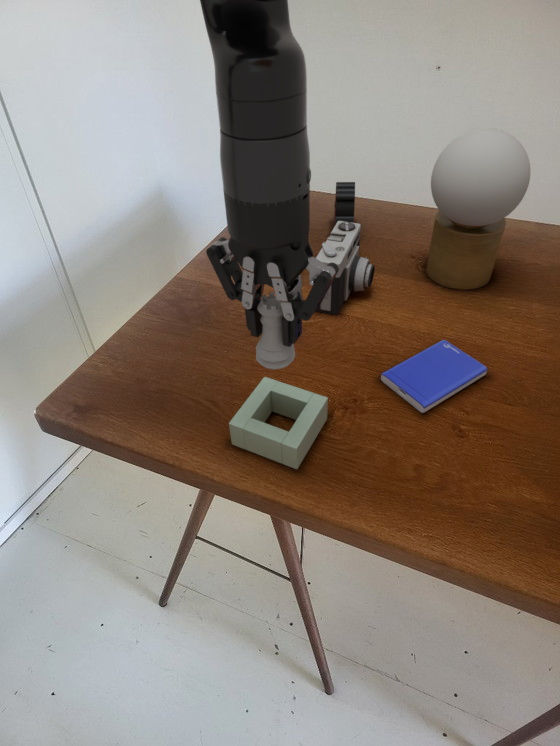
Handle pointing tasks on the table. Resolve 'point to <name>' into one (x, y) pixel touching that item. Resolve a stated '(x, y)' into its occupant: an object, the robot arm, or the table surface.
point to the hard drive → (433, 375)
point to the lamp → (474, 204)
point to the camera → (344, 265)
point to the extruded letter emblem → (344, 202)
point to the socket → (273, 440)
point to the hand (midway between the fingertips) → (274, 336)
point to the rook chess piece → (272, 336)
